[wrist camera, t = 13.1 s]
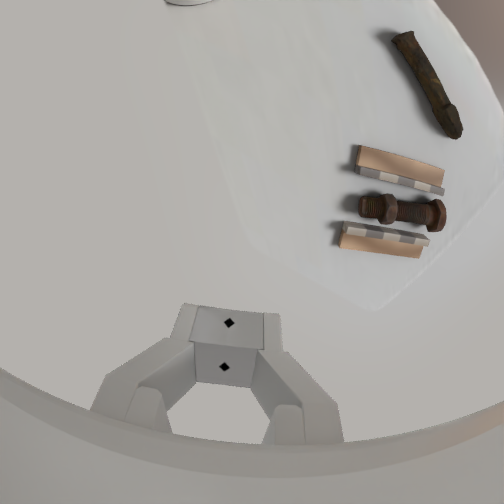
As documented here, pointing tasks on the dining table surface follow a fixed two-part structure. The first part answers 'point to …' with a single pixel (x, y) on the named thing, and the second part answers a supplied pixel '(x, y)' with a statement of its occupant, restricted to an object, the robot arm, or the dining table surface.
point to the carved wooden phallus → (430, 84)
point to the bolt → (404, 211)
